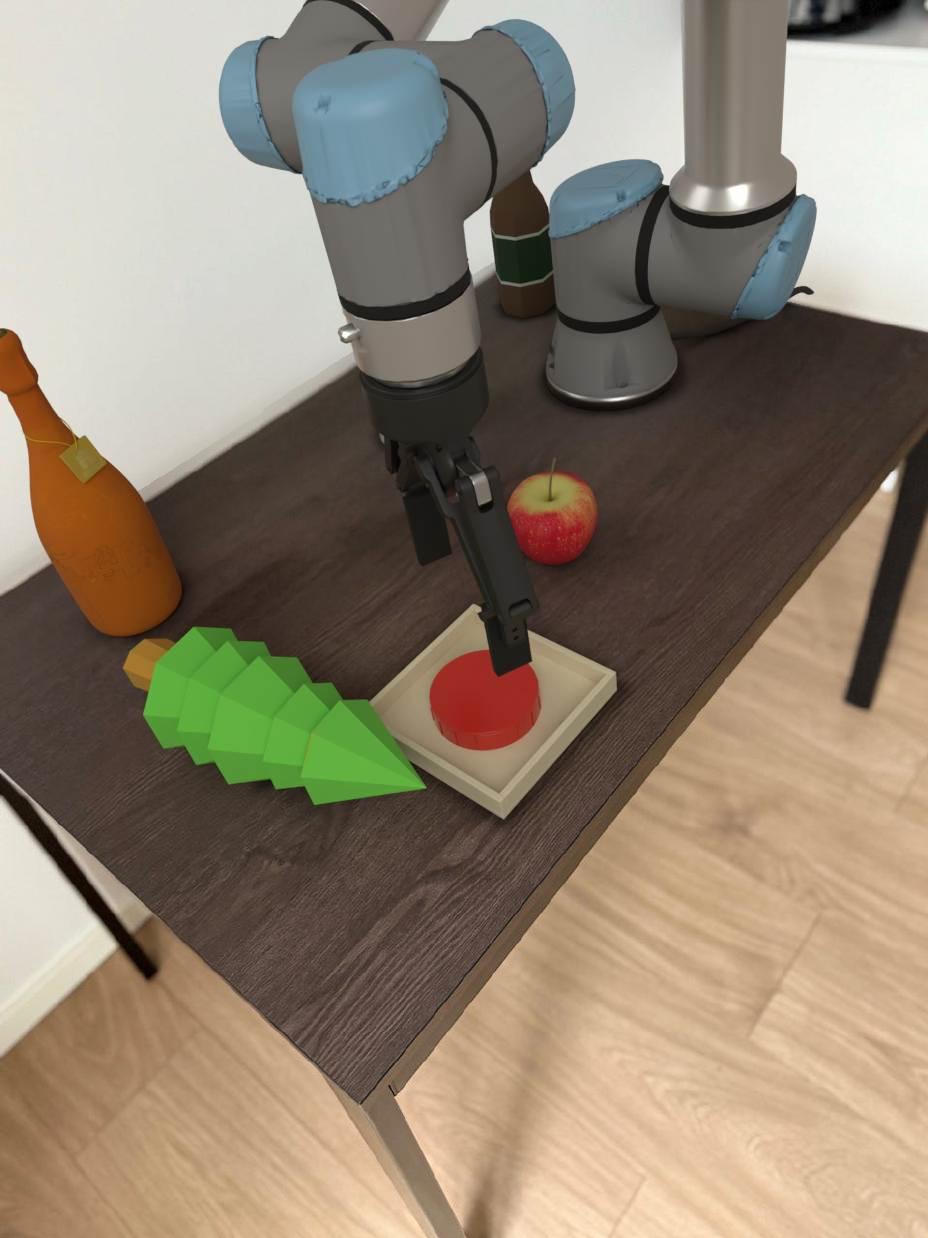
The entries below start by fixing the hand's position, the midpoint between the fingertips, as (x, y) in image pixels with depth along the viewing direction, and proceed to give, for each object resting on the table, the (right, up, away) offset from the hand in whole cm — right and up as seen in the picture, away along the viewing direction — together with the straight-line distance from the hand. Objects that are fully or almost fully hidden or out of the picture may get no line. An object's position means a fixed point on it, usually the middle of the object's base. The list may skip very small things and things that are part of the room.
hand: (471, 608), depth 71 cm
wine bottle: (-33, 0, +24) cm, 41 cm away
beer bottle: (+8, +41, +57) cm, 71 cm away
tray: (+1, -8, +8) cm, 12 cm away
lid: (+1, -7, +6) cm, 9 cm away
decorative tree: (-15, -13, +7) cm, 21 cm away
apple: (+8, +5, +21) cm, 23 cm away
